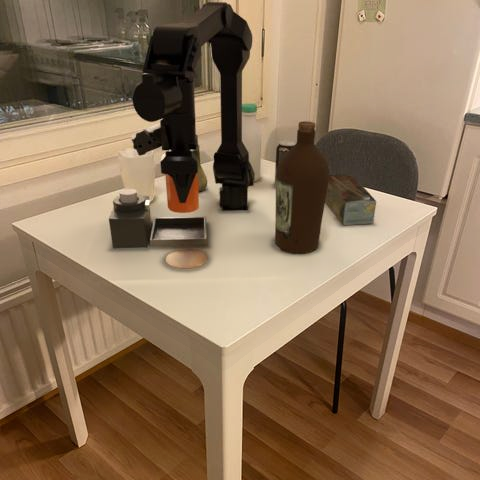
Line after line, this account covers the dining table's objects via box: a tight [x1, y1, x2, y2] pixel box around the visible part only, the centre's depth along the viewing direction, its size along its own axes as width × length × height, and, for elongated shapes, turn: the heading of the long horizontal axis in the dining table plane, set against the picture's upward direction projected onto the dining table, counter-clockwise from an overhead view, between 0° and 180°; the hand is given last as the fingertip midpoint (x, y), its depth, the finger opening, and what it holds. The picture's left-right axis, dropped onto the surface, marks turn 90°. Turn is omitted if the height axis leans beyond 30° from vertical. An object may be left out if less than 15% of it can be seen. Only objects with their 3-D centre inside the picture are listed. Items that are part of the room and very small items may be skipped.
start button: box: [118, 188, 138, 203], centre depth 102 cm, size 4×4×2 cm
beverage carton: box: [325, 173, 377, 226], centre depth 120 cm, size 8×19×7 cm, turn 7°
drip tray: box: [149, 216, 208, 248], centre depth 107 cm, size 12×12×2 cm
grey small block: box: [145, 200, 151, 212], centre depth 104 cm, size 1×3×2 cm, turn 4°
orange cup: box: [164, 173, 200, 214], centre depth 93 cm, size 6×6×7 cm
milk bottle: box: [242, 102, 262, 182], centre depth 135 cm, size 8×8×20 cm
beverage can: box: [274, 139, 297, 186], centre depth 132 cm, size 6×6×12 cm
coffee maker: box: [108, 195, 152, 249], centre depth 105 cm, size 7×13×8 cm, turn 4°
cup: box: [117, 147, 156, 203], centre depth 122 cm, size 9×9×12 cm
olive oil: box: [274, 120, 330, 255], centre depth 98 cm, size 11×11×25 cm
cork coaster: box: [165, 248, 209, 270], centre depth 98 cm, size 8×8×1 cm
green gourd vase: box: [195, 144, 208, 192], centre depth 129 cm, size 6×5×12 cm
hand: (183, 196), depth 93 cm, fingers closed on orange cup, 6 cm apart
